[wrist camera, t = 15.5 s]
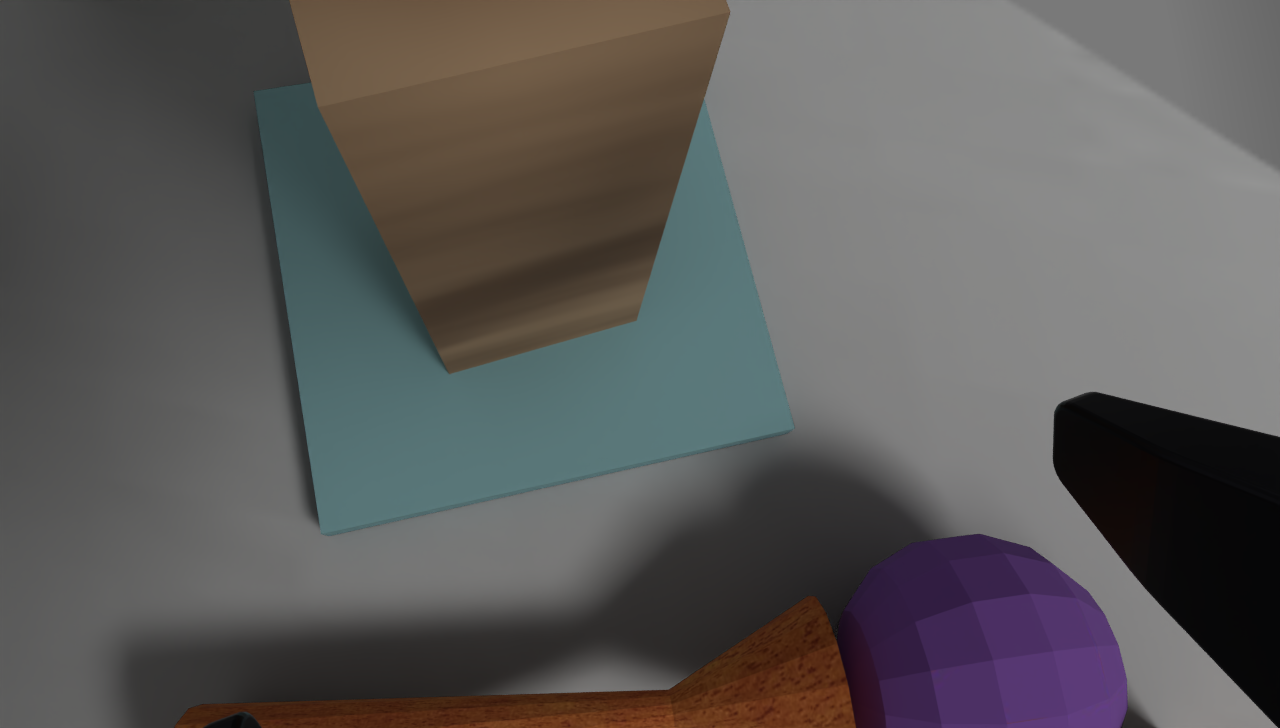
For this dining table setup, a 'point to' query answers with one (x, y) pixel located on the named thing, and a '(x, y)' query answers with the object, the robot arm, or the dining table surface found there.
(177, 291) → the dining table surface
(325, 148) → the teal mat
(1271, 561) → the robot arm
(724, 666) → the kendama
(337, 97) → the walnut brick
